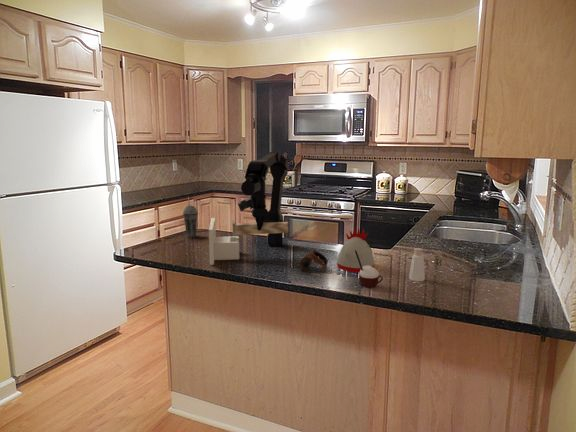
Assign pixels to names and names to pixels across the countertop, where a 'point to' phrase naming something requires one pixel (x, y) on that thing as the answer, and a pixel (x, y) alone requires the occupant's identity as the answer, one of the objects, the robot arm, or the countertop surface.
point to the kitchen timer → (348, 255)
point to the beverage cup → (190, 220)
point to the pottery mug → (313, 255)
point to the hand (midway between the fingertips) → (259, 229)
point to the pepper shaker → (417, 266)
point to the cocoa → (368, 275)
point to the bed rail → (266, 228)
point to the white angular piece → (222, 245)
